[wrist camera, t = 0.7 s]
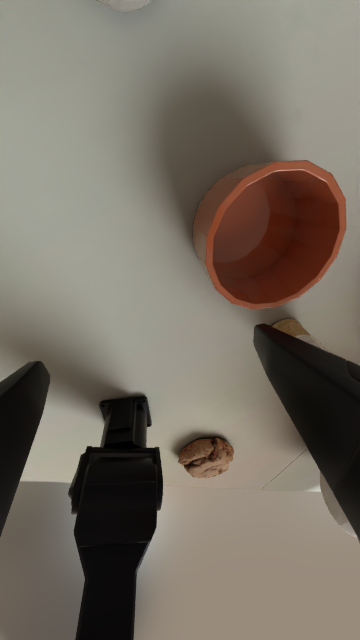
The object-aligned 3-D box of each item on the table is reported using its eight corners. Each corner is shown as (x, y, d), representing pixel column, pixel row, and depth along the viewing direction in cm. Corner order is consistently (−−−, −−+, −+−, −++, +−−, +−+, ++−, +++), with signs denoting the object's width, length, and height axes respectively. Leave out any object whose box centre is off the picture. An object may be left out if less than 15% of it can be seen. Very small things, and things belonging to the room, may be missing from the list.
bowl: (285, 277, 24) (321, 303, 19) (193, 284, 23) (204, 313, 18) (311, 163, 19) (370, 157, 14) (191, 168, 18) (207, 164, 13)
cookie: (188, 471, 44) (190, 489, 42) (171, 445, 39) (172, 463, 36) (236, 458, 44) (242, 475, 41) (226, 429, 38) (232, 447, 35)
